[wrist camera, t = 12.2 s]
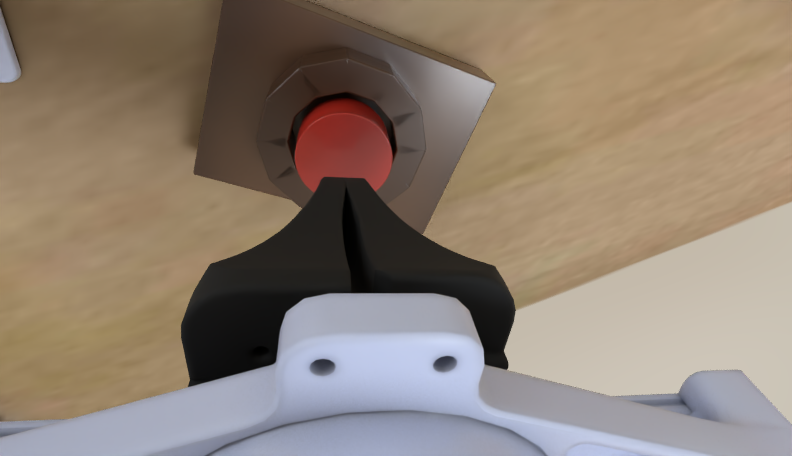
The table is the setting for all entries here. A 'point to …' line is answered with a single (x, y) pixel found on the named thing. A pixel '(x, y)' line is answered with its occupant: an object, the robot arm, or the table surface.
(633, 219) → the table surface
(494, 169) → the table surface
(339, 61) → the button block
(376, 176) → the button
